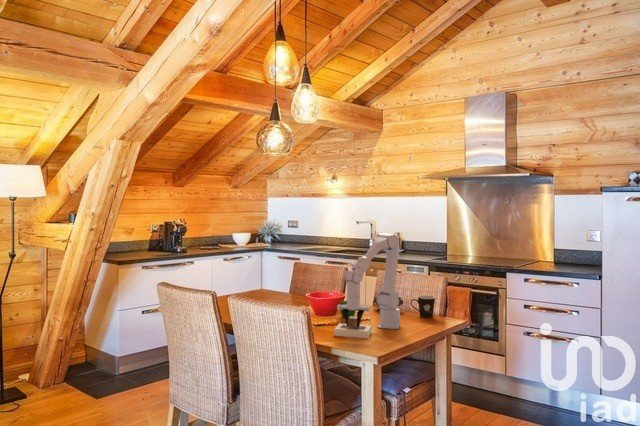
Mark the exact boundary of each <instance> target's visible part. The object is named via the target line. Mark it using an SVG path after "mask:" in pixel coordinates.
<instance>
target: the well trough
mask: <svg viewBox="0 0 640 426" xmlns="http://www.w3.org/2000/svg"><path fill="white" fill-rule="evenodd" d="M372 327H373V326H372V325H366V324H360V326H359V329H348V327H347V323H338V324H337V326H336V327H334V329H333V331H334V332H333V336H337V337H348V338H360V339H368V338H369V337H370V335H371V334H372V331H373V328H372Z"/></svg>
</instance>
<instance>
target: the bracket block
mask: <svg viewBox="0 0 640 426" xmlns="http://www.w3.org/2000/svg"><path fill="white" fill-rule="evenodd" d="M348 329H359V327H357V316H355V315H354V316H350V317H349V318H348Z"/></svg>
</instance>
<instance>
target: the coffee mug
mask: <svg viewBox="0 0 640 426" xmlns="http://www.w3.org/2000/svg"><path fill="white" fill-rule="evenodd" d="M413 301H416V302H417V304H418V308H417V307H415V306H414V305H413V304H412V303H413ZM435 301H436V296H432V295H418V296H417V299H415V298H413V299H411V301H410V306H411V307H412V308H414V309H415V310H417V312H419V317H420V318H422V319H431V318H433V317H434V310H435V304H436V303H435Z"/></svg>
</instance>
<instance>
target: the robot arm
mask: <svg viewBox="0 0 640 426" xmlns="http://www.w3.org/2000/svg"><path fill="white" fill-rule="evenodd" d="M399 245H400V238H398V236H397V235H396V234H395V233H394V234H393V233H383V232H379V233H377V234H376V235H375V236H374V238H373V243H372V244H371V246H370V247H369V249H368V250H367V251H366V253H365V254H364V255H363V256H359V257H358V258H357V261H356V262H355V263H354V264H353V265H352V266H351V268H349V269H347V270H346V272H345V274H344V275H343V276H344V280H345V284H346V292H347V293H346V300H347V305H340V304H337V306H336V309H337V310H338V311H339V310H343V311H342V313H343V315H344V317H345V318H344V317H343V318H344V320H345V324H347V327H348V318H349V314H350V310H355V311H357V312H356V317H357V327H359V326H360V325H361V322H362V321H361V320H362V317H363V315H364V313H365V312H367V313H369V312H370V309H371V306H368V305H367V306H366V305H361V304H360V303H361V301H360V300H361V295H360V294H361V289H360V288H361V282H362V281H363V278H364V275H365V273H366V271H367V270H368V269H369V268H370V266H371V260H373V259H374V258H375V257H376V255H377V254H378V253H379V252H380V251H382V250H384V252H385V253H386V259H385V268H384V275H383V276H384V277H383V285H382V287H381V288H379V290H378V294H377V295H376V297H377V303H378V305H379V307H378V308H379V325H378V326H377V328H378V329H380V328H381V329H390V330H391V329H393V330H398V329H399V328H400V326H401V309H400V308H398V307H399V306H398V304H399V298H398V297H399V292H398V291H397V290H396V280H397V279H396V278H397V271H398V263H399V255H400V254H399V253H400V249H399ZM386 293H389V294H386ZM378 305H377V306H378ZM397 306H398V307H397Z"/></svg>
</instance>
